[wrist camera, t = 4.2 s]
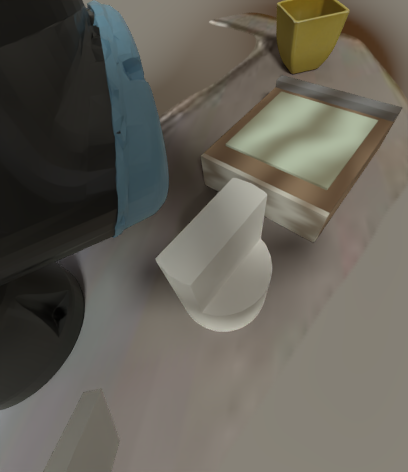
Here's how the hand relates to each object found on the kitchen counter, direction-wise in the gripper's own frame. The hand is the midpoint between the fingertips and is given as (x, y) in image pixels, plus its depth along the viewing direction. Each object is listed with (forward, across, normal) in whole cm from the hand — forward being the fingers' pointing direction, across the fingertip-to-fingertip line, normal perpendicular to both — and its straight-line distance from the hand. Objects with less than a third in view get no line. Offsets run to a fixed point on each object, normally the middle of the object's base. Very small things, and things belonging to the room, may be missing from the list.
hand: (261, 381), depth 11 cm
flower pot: (+45, +24, +25) cm, 56 cm away
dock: (+27, +13, +8) cm, 31 cm away
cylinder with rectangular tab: (+16, 0, -3) cm, 17 cm away
